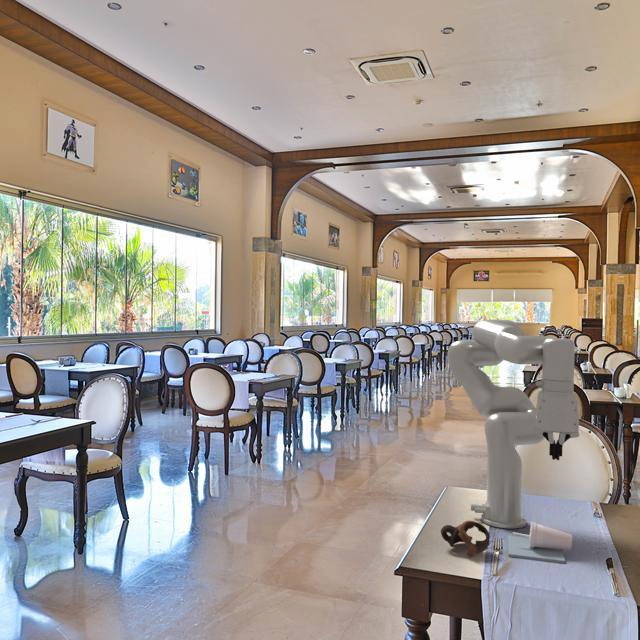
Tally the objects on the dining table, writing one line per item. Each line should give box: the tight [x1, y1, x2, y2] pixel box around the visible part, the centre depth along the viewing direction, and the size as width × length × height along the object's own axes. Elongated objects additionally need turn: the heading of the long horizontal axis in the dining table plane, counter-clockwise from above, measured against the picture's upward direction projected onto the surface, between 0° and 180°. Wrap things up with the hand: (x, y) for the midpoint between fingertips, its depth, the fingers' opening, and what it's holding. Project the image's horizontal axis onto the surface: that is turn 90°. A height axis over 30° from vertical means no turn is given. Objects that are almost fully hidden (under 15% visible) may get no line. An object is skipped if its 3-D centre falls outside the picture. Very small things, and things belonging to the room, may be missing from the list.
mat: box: [507, 534, 566, 564], centre depth 154 cm, size 13×14×1 cm
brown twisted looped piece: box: [440, 520, 491, 558], centre depth 153 cm, size 12×10×8 cm
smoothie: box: [512, 521, 573, 550], centre depth 154 cm, size 6×6×14 cm
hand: (555, 458), depth 154 cm, fingers closed
